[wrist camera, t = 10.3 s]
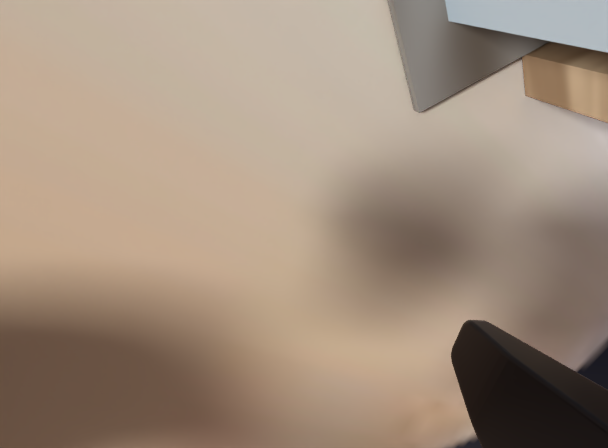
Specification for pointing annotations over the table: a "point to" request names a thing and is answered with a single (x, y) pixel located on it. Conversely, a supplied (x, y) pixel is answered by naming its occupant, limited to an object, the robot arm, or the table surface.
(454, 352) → the robot arm
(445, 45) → the brown angular stand
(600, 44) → the pale blue beveled prism
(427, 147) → the table surface
